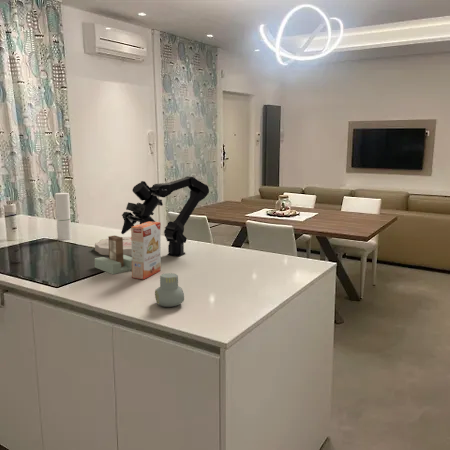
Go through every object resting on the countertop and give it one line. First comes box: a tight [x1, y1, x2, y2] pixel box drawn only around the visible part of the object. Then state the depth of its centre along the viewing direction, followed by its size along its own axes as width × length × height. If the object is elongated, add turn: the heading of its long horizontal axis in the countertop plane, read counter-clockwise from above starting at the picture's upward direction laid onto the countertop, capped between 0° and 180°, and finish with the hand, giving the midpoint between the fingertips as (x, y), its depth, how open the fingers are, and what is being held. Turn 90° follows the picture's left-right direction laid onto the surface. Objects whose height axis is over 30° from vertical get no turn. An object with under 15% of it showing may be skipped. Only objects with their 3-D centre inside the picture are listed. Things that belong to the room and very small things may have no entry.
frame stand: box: [94, 255, 132, 275], centre depth 193 cm, size 14×12×4 cm
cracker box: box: [130, 221, 162, 280], centre depth 182 cm, size 14×6×21 cm, turn 160°
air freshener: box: [154, 272, 185, 308], centre depth 150 cm, size 11×8×10 cm
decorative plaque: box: [94, 236, 132, 257], centre depth 227 cm, size 30×4×30 cm
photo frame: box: [107, 235, 124, 267], centre depth 192 cm, size 6×3×12 cm, turn 47°
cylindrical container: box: [54, 192, 72, 241], centre depth 247 cm, size 7×7×25 cm
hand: (128, 235), depth 195 cm, fingers open, 9 cm apart
